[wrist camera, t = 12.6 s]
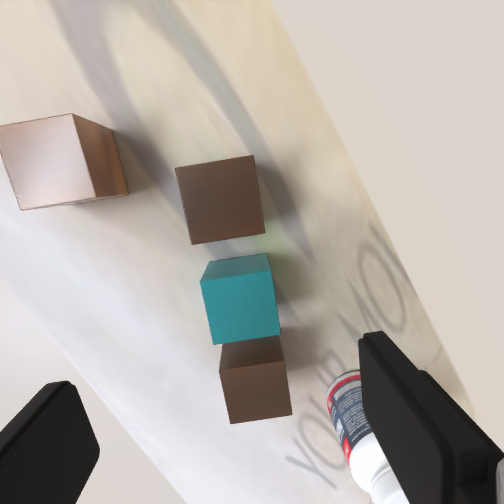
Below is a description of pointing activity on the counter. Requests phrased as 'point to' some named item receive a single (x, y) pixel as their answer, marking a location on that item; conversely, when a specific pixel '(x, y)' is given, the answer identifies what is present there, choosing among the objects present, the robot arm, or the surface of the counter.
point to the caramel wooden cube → (61, 161)
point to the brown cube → (254, 379)
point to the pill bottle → (361, 442)
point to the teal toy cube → (240, 299)
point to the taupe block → (221, 199)
